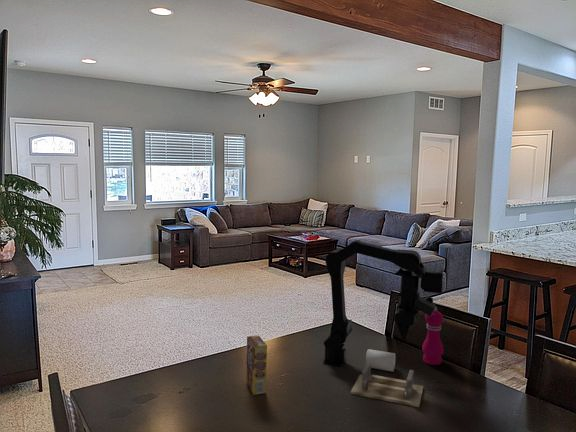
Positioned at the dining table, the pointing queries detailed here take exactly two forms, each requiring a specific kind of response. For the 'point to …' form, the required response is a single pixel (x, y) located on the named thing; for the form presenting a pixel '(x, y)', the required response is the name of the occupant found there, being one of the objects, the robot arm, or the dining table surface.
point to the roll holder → (388, 388)
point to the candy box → (256, 364)
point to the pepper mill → (433, 339)
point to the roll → (381, 360)
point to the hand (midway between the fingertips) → (406, 335)
